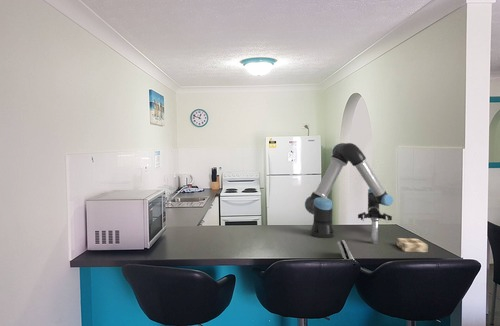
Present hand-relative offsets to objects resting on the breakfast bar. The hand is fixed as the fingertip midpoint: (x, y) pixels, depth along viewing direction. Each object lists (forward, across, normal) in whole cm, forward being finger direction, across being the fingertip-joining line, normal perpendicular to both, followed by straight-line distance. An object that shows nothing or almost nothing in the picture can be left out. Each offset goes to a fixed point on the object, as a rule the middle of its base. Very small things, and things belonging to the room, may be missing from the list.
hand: (375, 219), depth 200 cm
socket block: (+13, -19, -12) cm, 26 cm away
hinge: (+44, +15, -12) cm, 48 cm away
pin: (+10, +1, -12) cm, 16 cm away
